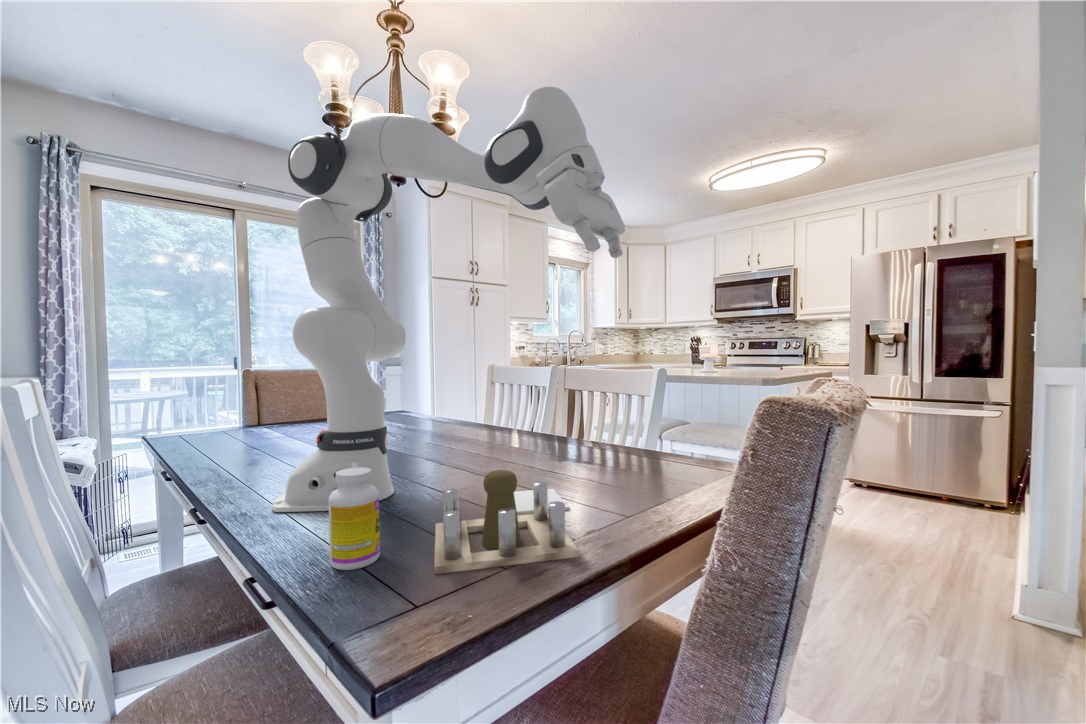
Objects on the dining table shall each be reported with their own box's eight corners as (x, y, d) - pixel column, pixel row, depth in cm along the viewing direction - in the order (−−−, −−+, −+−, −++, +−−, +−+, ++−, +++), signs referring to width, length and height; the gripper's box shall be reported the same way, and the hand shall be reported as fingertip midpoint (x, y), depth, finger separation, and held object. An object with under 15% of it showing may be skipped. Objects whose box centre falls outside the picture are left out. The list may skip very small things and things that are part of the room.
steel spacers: (444, 564, 60) (443, 520, 60) (443, 523, 75) (442, 487, 75) (569, 550, 64) (568, 508, 64) (544, 513, 79) (544, 479, 79)
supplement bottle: (384, 564, 63) (382, 472, 63) (332, 576, 60) (330, 480, 59) (375, 547, 69) (374, 463, 69) (327, 557, 65) (325, 469, 65)
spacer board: (434, 574, 60) (434, 566, 60) (435, 529, 75) (435, 523, 75) (578, 556, 64) (578, 549, 64) (551, 517, 80) (551, 512, 80)
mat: (504, 516, 81) (504, 512, 81) (496, 496, 93) (496, 493, 93) (568, 510, 84) (568, 506, 84) (553, 491, 95) (552, 488, 95)
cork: (523, 534, 72) (522, 466, 72) (517, 551, 66) (516, 476, 66) (486, 534, 73) (485, 466, 73) (477, 550, 67) (476, 476, 67)
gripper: (588, 202, 86) (614, 267, 85) (529, 174, 69) (561, 255, 67) (616, 183, 83) (644, 251, 81) (562, 149, 66) (597, 234, 64)
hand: (606, 253), depth 74 cm, fingers open, 8 cm apart
